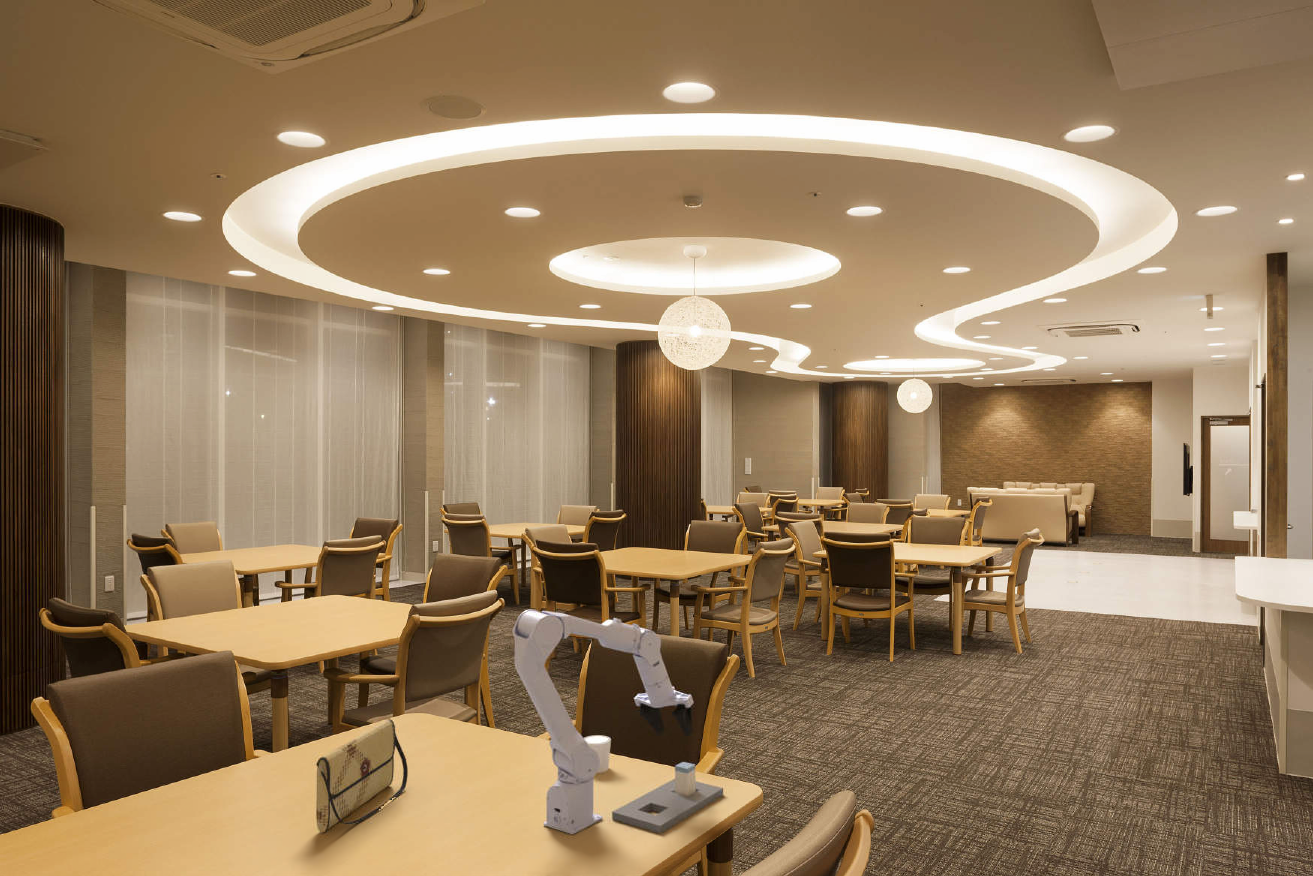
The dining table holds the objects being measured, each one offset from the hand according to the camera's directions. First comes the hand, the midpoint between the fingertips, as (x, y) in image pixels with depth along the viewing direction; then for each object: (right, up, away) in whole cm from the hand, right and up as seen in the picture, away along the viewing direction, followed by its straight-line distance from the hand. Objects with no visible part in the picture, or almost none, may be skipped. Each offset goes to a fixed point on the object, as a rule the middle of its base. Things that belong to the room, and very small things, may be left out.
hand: (675, 733), depth 184 cm
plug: (+2, -13, -3) cm, 14 cm away
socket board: (-1, -13, -7) cm, 15 cm away
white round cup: (-19, -14, +16) cm, 28 cm away
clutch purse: (-66, -14, -7) cm, 67 cm away
